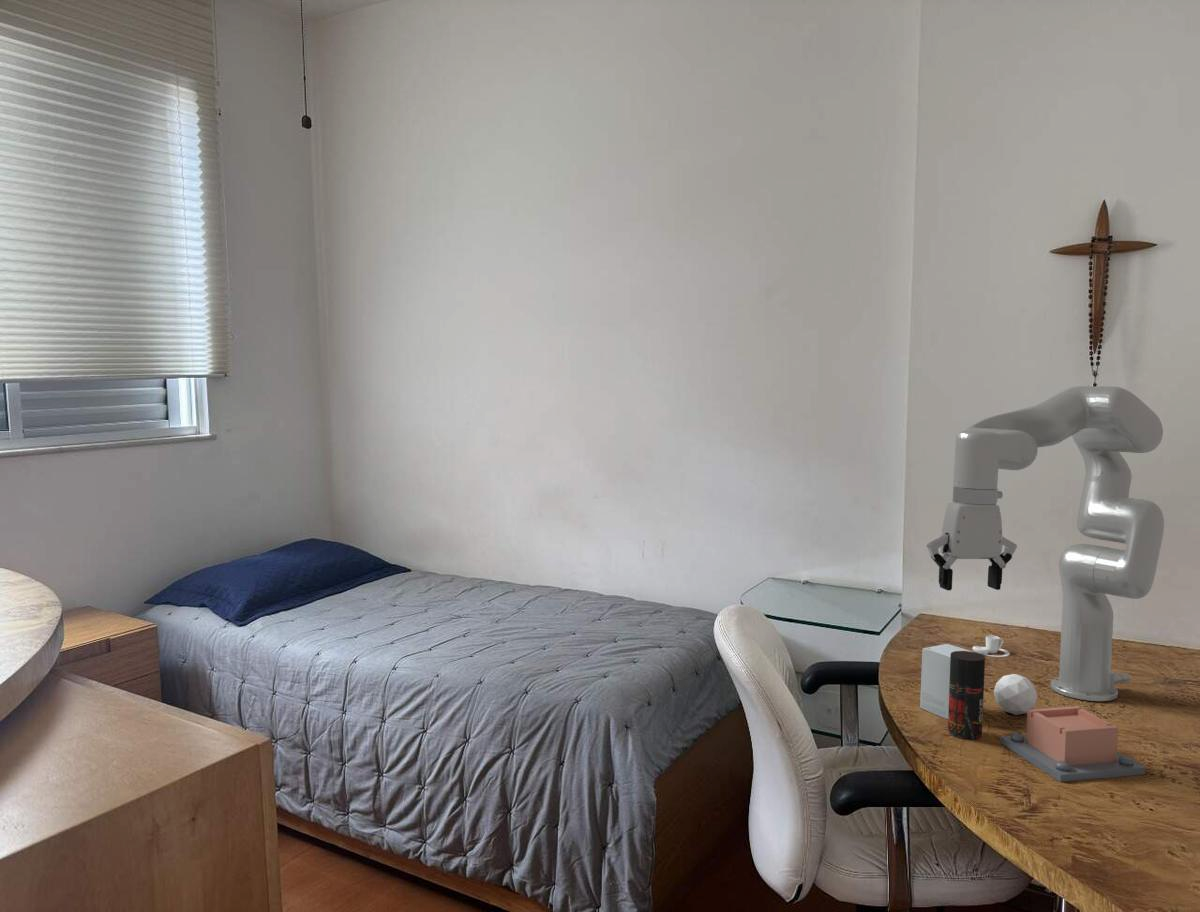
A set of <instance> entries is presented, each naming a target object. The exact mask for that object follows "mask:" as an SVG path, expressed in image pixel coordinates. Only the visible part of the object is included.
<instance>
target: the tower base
mask: <svg viewBox="0 0 1200 912" xmlns="http://www.w3.org/2000/svg"><path fill="white" fill-rule="evenodd" d="M1118 736H1119V726H1117V725H1114V724H1113V725H1112V723H1111V722H1109V721H1107V720H1105V719H1103V718H1101V717H1099V716H1097V715H1095V714H1093V713H1091V712H1089V711H1088V710H1085V709H1084V708H1081V707H1079V706H1078V705H1075V706H1074V705H1072V706H1059V707H1046V708H1032V709H1029V710H1027V713H1026V734H1022V733H1019V732H1012V733H1011V734H1010V735H1003V736H1000V744H1002V745H1003V746H1005V747H1006V748H1008V749H1009V750H1011V751H1012V752H1014V753H1015V754H1017V755H1019V756H1020V757H1021V758H1023V759H1025V760H1026V761H1028V762H1029V763H1031V764H1032V765H1034V766H1035V767H1037V768H1038V769H1040V770H1041V771H1043V772H1044V773H1046V774H1047V775H1049V776H1050V777H1052V778H1054V779H1055V780H1057V781H1059V782H1060V783H1063V782H1073V781H1074V782H1075V781H1084V780H1085V781H1086V780H1095V779H1108V778H1110V779H1111V778H1117V777H1118V778H1119V777H1133V776H1141V775H1145V774H1146V767H1145V766H1143V765H1141V764H1139V763H1138V762H1136V761H1135V759H1134V758H1133V757H1131V756H1128V755H1124V754H1121V752H1118V741H1119V739H1118V738H1119V737H1118Z"/></svg>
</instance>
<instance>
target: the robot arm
mask: <svg viewBox="0 0 1200 912" xmlns="http://www.w3.org/2000/svg"><path fill="white" fill-rule="evenodd" d="M1163 433H1164V429H1163V424H1162V422H1161V419H1160V418H1159V416H1158V415H1157V413H1156V412H1155V411H1153V409H1151V408H1150V407H1149V406H1148V405H1147V404H1146V403H1145V402H1144V401H1142V400H1141V399H1140V398H1139V397H1138V396H1137V395H1135V394H1134V393H1132V392H1131V391H1129V390H1128V389H1126V388H1124V387H1119V386H1090V385H1089V386H1087V385H1086V386H1085V385H1083V386H1073V387H1069V388H1066V389H1064V390H1063V391H1061V392H1059V393H1057V394H1055V395H1053V396H1051V397H1050V398H1048V399H1045V400H1044V401H1042V402H1040V403H1038V404H1036V405H1034V406H1029V407H1025V408H1020V409H1015V410H1014V411H1009V412H1006V413H1005V412H1004V413H1001V414H1000V413H999V414H997V415H993V416H990V417H987V418H984V419H982V420H980V421H978V422H976V423H974V424H971V425H970V426H968V427H967V428H966V429H965V430H962V431H959V432H958V433H957V435H956V438H955V444H954V445H955V448H954V465H953V467H954V468H953V469H954V470H953V486H952V489H953V490H952V503H951V502H949V503H947V506H946V509H945V513H944V516H943V521H942V526H941V527H942V528H941V534H940V535H941V536H939V537H938V538H935V539H934V540H932V541H930V542H928V543H927V544H926V548H927V550H928V552H929V554H930V558H931V559H932V561H934V562H935V564H936V566H937V567H939V569H938V584H939V587H940V589H943V590H945V591H952V589H953V573H954V571H953V569H952V568H951V567H952V566H953V564H954V563H956V561H957V560H988V561H989V563H990V564H991V565H988V569H987V570H988V571H987V586H988V587H989V588H991V589H994V590H996V591H999V590H1001V584H1002V582H1003V569H1005V568H1006V566H1007V563H1009V562H1010V561H1011V560H1012V558H1013V555H1014V553H1015V552H1016V550H1017V548H1018V545H1017V544H1016V543H1014V542H1013V541H1011V540H1010V539H1007V538H1006V537H1004V536H1003V521H1002V514H1001V510H1000V505H997V503H998V499H1003V492H1002V491H1000V490H999V489H998V485H999V484H998V481H999V470H1006V471H1008V470H1009V471H1019V470H1024V469H1027V468H1029V467H1030V466H1031V465H1032V464H1033V463H1034V462H1035V460H1036V458H1037V455H1038V448H1044V447H1050V446H1055V445H1057V444H1059V443H1062V442H1064V441H1065V440H1067V439H1068V438H1070V437H1072V438H1073V441H1074V443H1075V444H1076V446H1077V448H1078V451H1079V452H1080V454H1081V456H1082V459H1083V462H1084V466H1085V467H1084V468H1085V476H1084V483H1083V488H1082V492H1081V497H1080V502H1079V507H1078V512H1077V518H1076V527H1077V530H1078V532H1079V533H1080V534H1082V535H1083V536H1085V537H1087V538H1091V539H1094V540H1095V539H1096V540H1101V541H1106V542H1112V543H1119V544H1125V545H1126V548H1125V549H1120V548H1119V549H1118V548H1114V547H1113V548H1112V547H1109V546H1101V545H1096V544H1087V543H1076V544H1072V545H1069V546H1067V547H1066V548H1065V549H1063V551H1062V552H1061V553H1060V554H1061V555H1060V557H1059V561H1058V570H1059V577H1060V583H1061V584H1060V585H1061V592H1062V610H1061V611H1062V613H1061V625H1060V626H1061V630H1060V631H1061V632H1060V649H1059V653H1060V654H1059V670H1058V672H1059V673H1058V677H1055V678H1053V679H1051V680H1050V688H1051V689H1052V690H1053V691H1054V692H1055V693H1057V694H1059V695H1063V696H1066V697H1068V698H1073V699H1076V700H1082V701H1090V702H1109V701H1114V700H1115V699H1117V698H1118V697H1119V696H1118V695H1119V691H1118V689H1117V688H1116V687H1115V686H1116V685H1117V684H1118V683H1119V684H1124V683H1126V684H1127V683H1129V682H1131V676H1130V675H1129V673H1125V672H1124V673H1117V674H1116V672H1115V671H1113V670H1111V669H1112V668H1111V667H1112V652H1113V651H1112V649H1113V632H1114V631H1113V629H1114V610H1113V606H1112V605H1111V602H1110V600H1109V598H1108V596H1107V595H1111V596H1115V597H1121V598H1125V599H1132V600H1137V599H1138V600H1139V599H1142V598H1145V597H1146V596H1147V595H1148V594H1149V593H1150V591H1151V590H1152V588H1153V587H1152V586H1153V584H1154V580H1155V576H1156V573H1157V567H1158V562H1159V557H1160V552H1161V547H1162V542H1163V538H1164V530H1165V518H1164V515H1163V511H1162V509H1161V507H1160V506H1159V505H1158V504H1157V503H1155V502H1154V501H1151V500H1147V499H1143V498H1142V499H1141V498H1134V497H1129V496H1130V489H1131V485H1132V483H1131V482H1132V478H1133V477H1132V475H1133V474H1132V471H1131V468H1130V466H1129V464H1128V463H1127V461H1126V459H1125V458H1124V457H1123V455H1122V454H1121V453H1130V454H1132V453H1133V454H1134V453H1135V454H1146V453H1150V452H1152V451H1154V450H1156V448H1158V447H1159V445H1160V444H1161V443H1162V440H1163V436H1164V434H1163ZM1003 547H1004V550H1003ZM939 550H940V551H939ZM1002 551H1003V552H1002ZM940 552H941V553H942V554H940Z"/></svg>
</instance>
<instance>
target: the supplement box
mask: <svg viewBox="0 0 1200 912" xmlns="http://www.w3.org/2000/svg"><path fill="white" fill-rule="evenodd" d="M921 650H922V651H921V654H922V655H921V672H920V673H921V674H920V677H921V678H920V696H919V697H920V699H919V702H920V703H919V705H920V706H919V708H920V709H921V710H924V711H926V712H929V713H931V714H933V715H936V716H938V717H939V718H940V717H941V718H942V719H945V720H948V711H949V684H950V657H951V653H952V652H955V651H969V652H973V650H968V649H965V648H962V647H958V646H956V645H952V644H950V643H944V644H939V645H934V646H933V645H932V646H929V647H924V648H922V649H921Z"/></svg>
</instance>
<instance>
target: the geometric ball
mask: <svg viewBox="0 0 1200 912" xmlns="http://www.w3.org/2000/svg"><path fill="white" fill-rule="evenodd" d="M993 695H994V698H995V702H996V704H997V705H998V707H1000V708H1001V710H1002V711H1004V712H1006V713H1008V714H1012V715H1014V716H1017V715H1022V714H1023V715H1024V714H1027V710H1029V709H1034V707H1035V706H1036V701H1037V698H1038V694H1037V691H1036V687H1035V685H1034V684H1033V683H1032V682H1031V681H1030V680H1029V679H1028V678H1027V677H1025V676H1022V675H1019V674H1017V673H1011V674H1006V675H1003V676H1002V677H1000V678H999V680H998V681H997V682H996V683H995V686H994V689H993Z"/></svg>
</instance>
